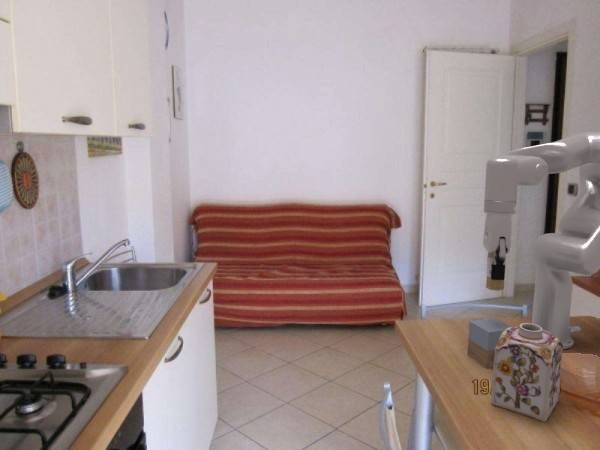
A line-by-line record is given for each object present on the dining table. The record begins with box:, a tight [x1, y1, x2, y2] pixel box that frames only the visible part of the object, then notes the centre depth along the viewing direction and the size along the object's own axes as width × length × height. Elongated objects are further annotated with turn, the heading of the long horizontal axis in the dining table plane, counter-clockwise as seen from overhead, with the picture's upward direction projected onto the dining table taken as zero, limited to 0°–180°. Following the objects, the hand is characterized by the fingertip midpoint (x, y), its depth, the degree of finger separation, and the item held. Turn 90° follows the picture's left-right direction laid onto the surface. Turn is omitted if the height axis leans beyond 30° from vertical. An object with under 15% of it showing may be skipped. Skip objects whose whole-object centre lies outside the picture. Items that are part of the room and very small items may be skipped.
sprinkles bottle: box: [485, 250, 505, 292], centre depth 128 cm, size 5×5×14 cm
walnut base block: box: [466, 338, 495, 369], centre depth 132 cm, size 8×8×5 cm
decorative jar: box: [490, 322, 564, 423], centre depth 109 cm, size 12×12×18 cm
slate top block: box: [468, 317, 512, 351], centre depth 131 cm, size 8×8×5 cm
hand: (495, 275), depth 128 cm, fingers closed on sprinkles bottle, 4 cm apart
